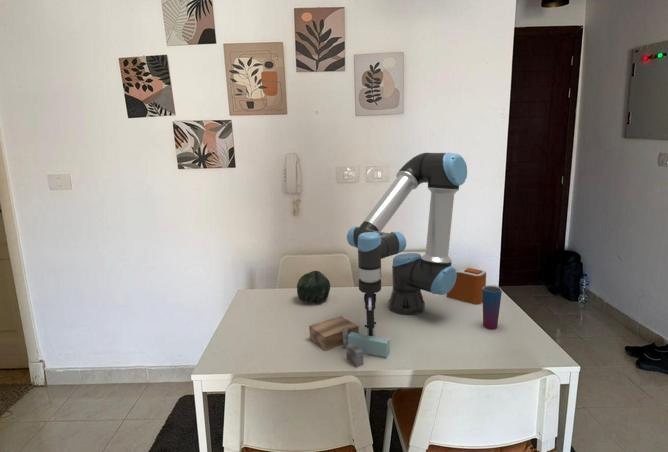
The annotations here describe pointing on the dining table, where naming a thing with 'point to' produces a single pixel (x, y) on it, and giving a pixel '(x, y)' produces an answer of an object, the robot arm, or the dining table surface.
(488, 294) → the cup
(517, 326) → the dining table surface
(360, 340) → the teal block
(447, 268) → the robot arm
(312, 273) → the squash
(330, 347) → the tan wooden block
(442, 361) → the dining table surface
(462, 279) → the brown toaster
